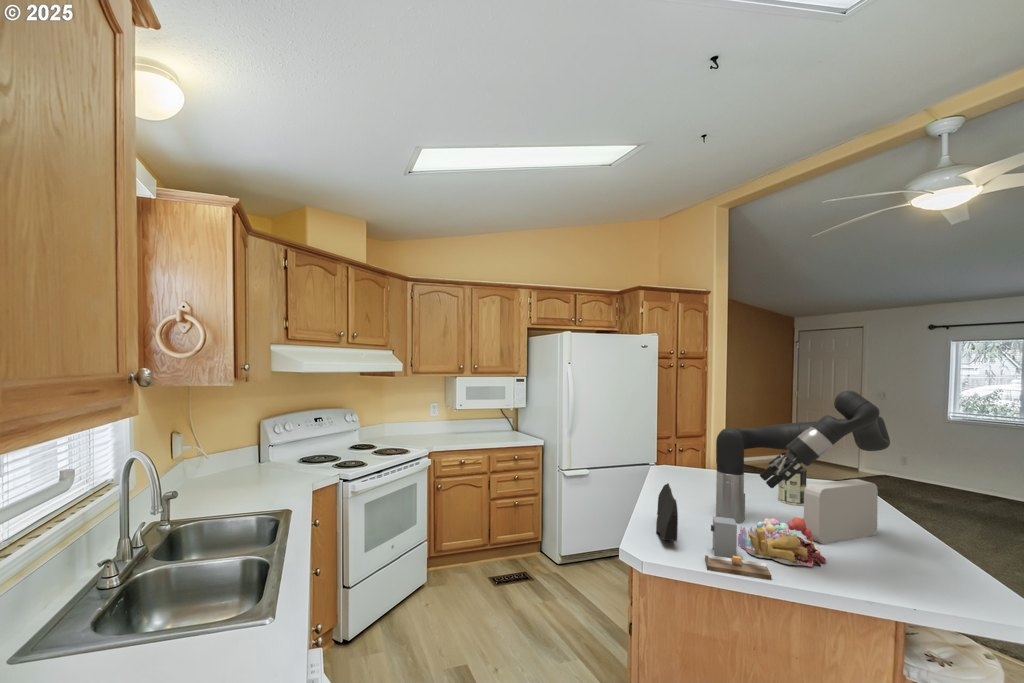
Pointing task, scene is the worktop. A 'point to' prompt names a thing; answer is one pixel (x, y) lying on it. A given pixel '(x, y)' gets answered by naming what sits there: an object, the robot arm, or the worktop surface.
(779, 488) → the coffee can
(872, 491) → the rounded-edge off-white block
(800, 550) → the candy landscape model
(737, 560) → the latch tab
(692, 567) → the worktop surface
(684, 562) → the worktop surface
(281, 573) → the worktop surface
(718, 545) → the breaker module
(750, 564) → the DIN rail board
